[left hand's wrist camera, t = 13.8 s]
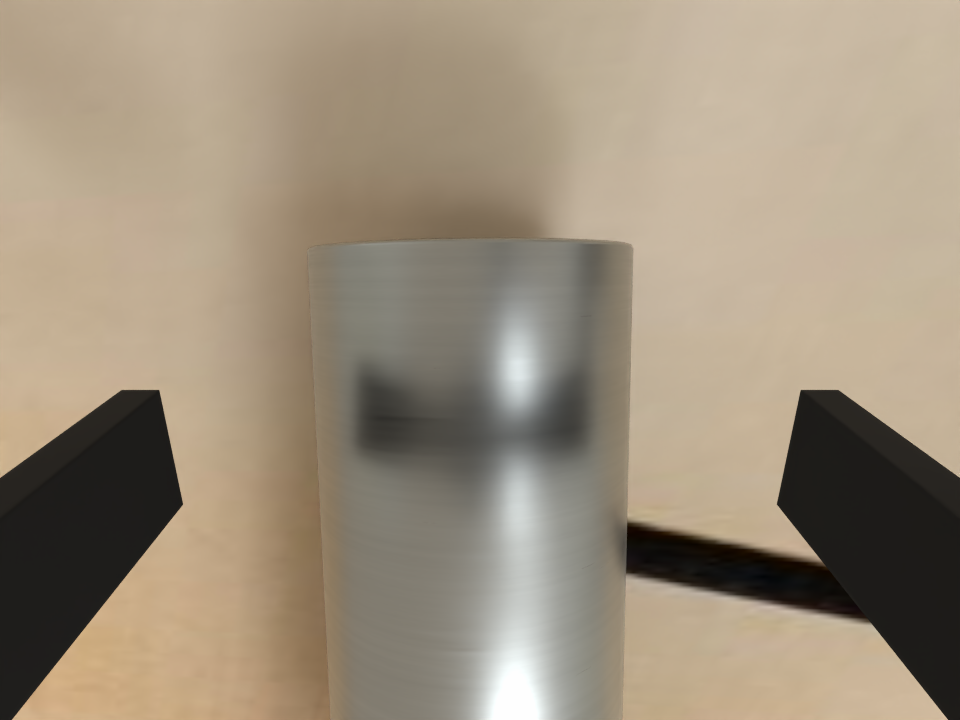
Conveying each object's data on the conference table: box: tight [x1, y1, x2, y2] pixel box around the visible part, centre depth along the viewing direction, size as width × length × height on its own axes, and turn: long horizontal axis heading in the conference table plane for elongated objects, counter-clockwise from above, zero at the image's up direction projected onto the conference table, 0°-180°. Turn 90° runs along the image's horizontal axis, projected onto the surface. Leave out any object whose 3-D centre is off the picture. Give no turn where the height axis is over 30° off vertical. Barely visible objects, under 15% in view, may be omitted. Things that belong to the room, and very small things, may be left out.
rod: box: [307, 238, 633, 720], centre depth 17 cm, size 25×8×8 cm, turn 179°
